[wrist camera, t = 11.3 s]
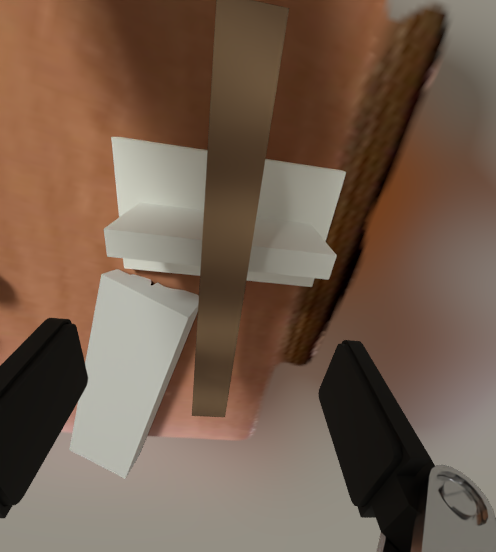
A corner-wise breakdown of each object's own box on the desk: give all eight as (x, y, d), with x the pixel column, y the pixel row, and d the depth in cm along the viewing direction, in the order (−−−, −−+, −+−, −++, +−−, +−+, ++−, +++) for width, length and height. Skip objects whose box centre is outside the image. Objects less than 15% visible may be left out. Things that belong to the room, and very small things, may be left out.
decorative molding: (92, 423, 46) (142, 449, 45) (69, 450, 41) (125, 478, 41) (130, 259, 31) (205, 296, 31) (101, 274, 27) (188, 317, 26)
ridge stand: (118, 136, 22) (54, 138, 14) (340, 170, 24) (390, 187, 17) (129, 261, 28) (87, 312, 20) (308, 280, 30) (334, 332, 22)
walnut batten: (222, 31, 13) (216, -8, 9) (274, 42, 13) (289, 8, 9) (198, 374, 24) (191, 415, 20) (226, 376, 24) (224, 417, 21)
